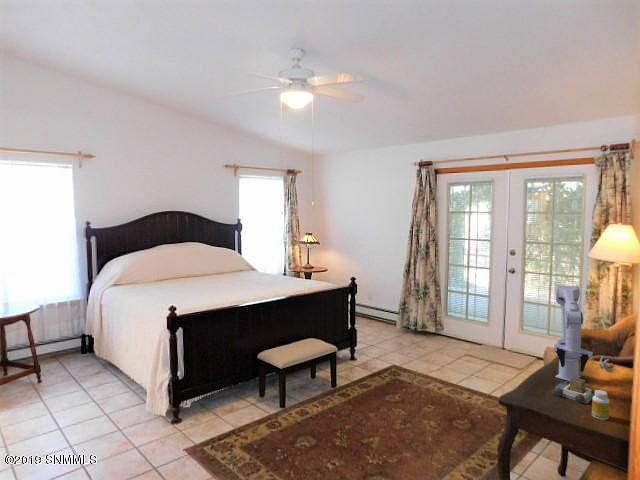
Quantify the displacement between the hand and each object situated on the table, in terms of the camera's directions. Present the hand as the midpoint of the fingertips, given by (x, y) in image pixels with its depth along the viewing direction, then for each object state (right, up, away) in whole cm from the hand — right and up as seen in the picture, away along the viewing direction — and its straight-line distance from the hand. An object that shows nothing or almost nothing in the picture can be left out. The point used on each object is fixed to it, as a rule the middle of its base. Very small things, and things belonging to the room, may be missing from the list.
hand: (572, 368), depth 185 cm
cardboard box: (-2, -9, -6) cm, 11 cm away
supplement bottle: (-4, -11, -24) cm, 27 cm away
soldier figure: (+32, -8, +25) cm, 41 cm away
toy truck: (-3, -10, -5) cm, 11 cm away
